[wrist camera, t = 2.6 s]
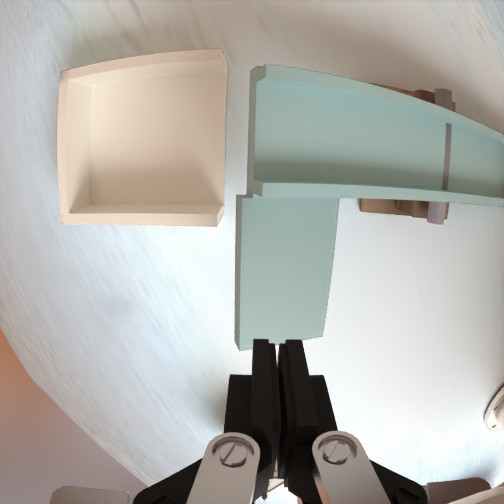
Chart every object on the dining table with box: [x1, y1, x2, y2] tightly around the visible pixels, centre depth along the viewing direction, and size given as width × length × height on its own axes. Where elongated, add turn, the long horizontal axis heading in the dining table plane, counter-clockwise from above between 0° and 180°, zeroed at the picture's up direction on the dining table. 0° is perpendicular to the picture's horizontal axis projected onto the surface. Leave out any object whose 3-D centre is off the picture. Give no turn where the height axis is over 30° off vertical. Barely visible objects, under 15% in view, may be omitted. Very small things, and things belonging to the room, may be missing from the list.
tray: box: [57, 49, 228, 227], centre depth 21 cm, size 12×12×4 cm
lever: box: [235, 64, 504, 351], centre depth 17 cm, size 26×16×4 cm, turn 88°
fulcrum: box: [360, 83, 455, 219], centre depth 20 cm, size 8×10×4 cm
